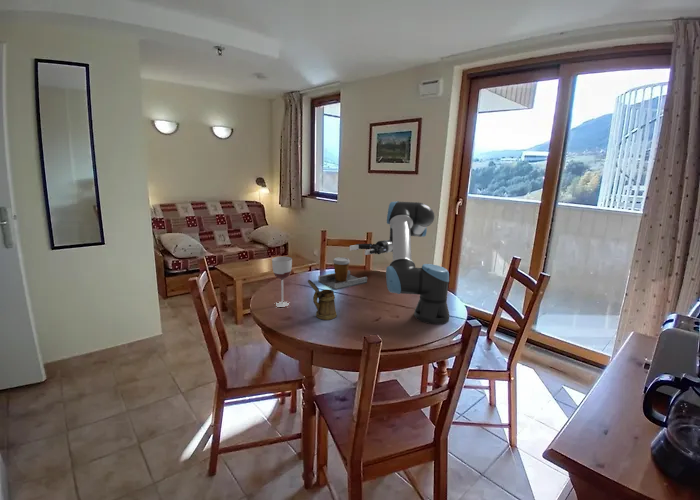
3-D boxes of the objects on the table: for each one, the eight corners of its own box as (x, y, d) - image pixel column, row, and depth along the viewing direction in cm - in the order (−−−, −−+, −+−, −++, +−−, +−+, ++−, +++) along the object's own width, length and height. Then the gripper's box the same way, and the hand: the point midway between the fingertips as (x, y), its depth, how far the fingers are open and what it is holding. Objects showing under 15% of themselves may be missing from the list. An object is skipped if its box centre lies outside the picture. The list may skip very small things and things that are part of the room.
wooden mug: (303, 316, 157) (303, 276, 153) (329, 310, 164) (330, 272, 160) (312, 324, 150) (313, 282, 146) (340, 317, 157) (341, 277, 153)
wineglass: (269, 307, 166) (268, 260, 161) (278, 300, 175) (277, 255, 170) (287, 309, 164) (286, 262, 159) (295, 302, 173) (295, 257, 168)
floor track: (348, 275, 218) (349, 270, 217) (366, 282, 205) (367, 277, 205) (318, 281, 204) (318, 276, 203) (335, 289, 192) (335, 284, 191)
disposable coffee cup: (347, 282, 202) (347, 261, 199) (330, 280, 204) (331, 260, 201) (351, 277, 211) (351, 257, 208) (335, 276, 213) (335, 256, 210)
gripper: (398, 256, 212) (371, 261, 198) (369, 249, 231) (343, 252, 217) (399, 244, 210) (372, 247, 197) (370, 237, 229) (344, 240, 216)
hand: (357, 250), depth 207 cm, fingers open, 13 cm apart
